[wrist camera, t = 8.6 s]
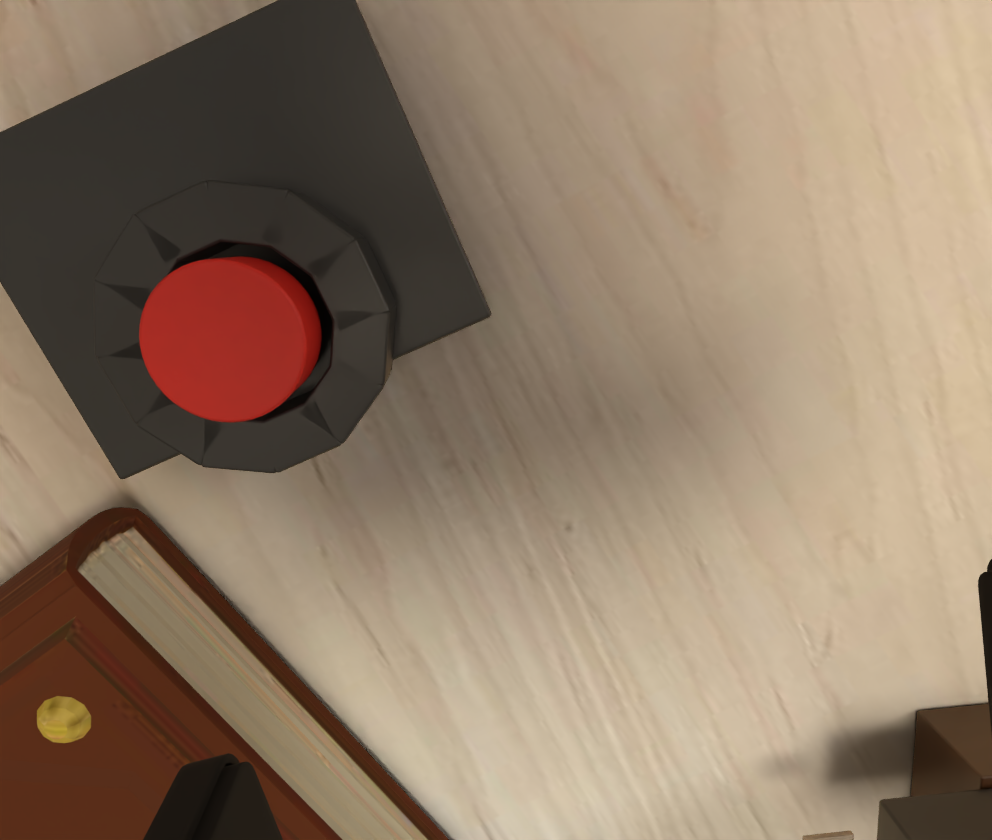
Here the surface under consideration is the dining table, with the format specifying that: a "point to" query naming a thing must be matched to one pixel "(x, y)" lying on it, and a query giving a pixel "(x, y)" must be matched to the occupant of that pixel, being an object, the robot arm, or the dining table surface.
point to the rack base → (946, 754)
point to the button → (229, 337)
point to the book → (161, 701)
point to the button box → (232, 227)
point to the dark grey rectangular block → (937, 816)
